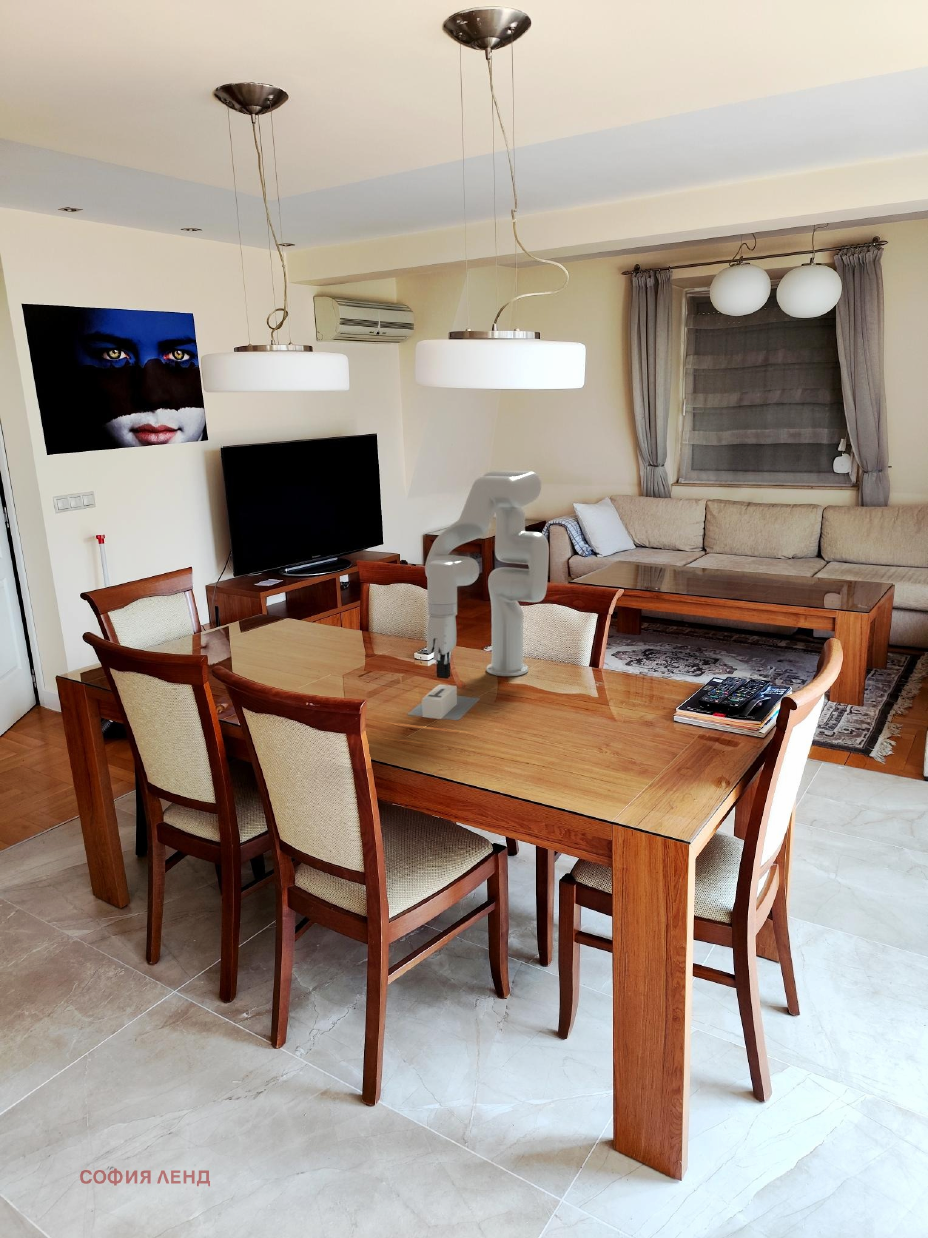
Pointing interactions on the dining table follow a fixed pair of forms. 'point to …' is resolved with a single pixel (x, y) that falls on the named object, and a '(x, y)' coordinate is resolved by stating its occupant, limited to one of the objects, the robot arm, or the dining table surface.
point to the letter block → (439, 701)
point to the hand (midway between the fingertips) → (443, 677)
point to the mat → (456, 712)
